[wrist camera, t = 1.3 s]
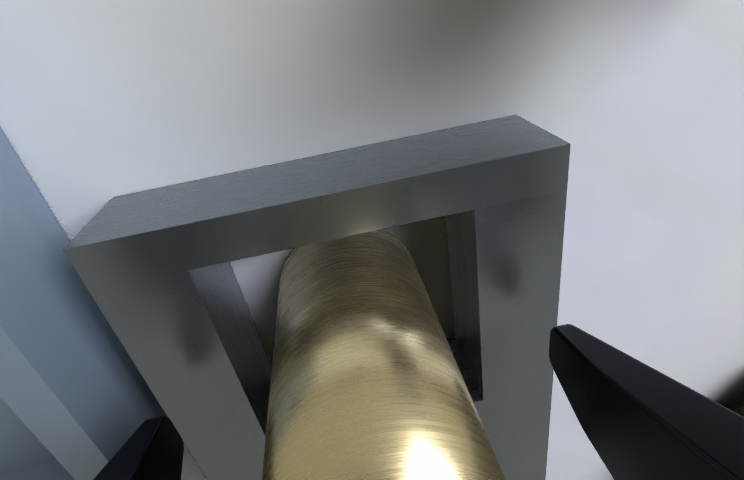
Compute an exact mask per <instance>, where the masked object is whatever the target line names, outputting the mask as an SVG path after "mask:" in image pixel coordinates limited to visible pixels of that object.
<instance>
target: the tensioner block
mask: <svg viewBox="0 0 744 480" xmlns="http://www.w3.org/2000/svg"><path fill="white" fill-rule="evenodd" d="M569 155H570V143H568V142H566V141H564V140H562V139H560V138H559V137H557V136H555V135H553V134H551V133H549V132H547V131H545V130H544V129H542V128H540V127H538V126H536V125H534V124H532V123H530V122H529V121H527V120H525V119H523V118H521V117H519V116H517V115H513V116H508V117H503V118H498V119H493V120H488V121H483V122H478V123H474V124H469V125H464V126H459V127H454V128H449V129H444V130H439V131H434V132H430V133H425V134H420V135H415V136H410V137H405V138H400V139H395V140H391V141H386V142H381V143H376V144H371V145H366V146H361V147H356V148H351V149H347V150H342V151H337V152H332V153H327V154H322V155H317V156H312V157H308V158H303V159H298V160H293V161H288V162H283V163H278V164H273V165H268V166H264V167H259V168H254V169H249V170H244V171H239V172H234V173H229V174H225V175H220V176H215V177H210V178H205V179H200V180H195V181H190V182H185V183H181V184H176V185H171V186H166V187H161V188H156V189H151V190H146V191H142V192H137V193H132V194H127V195H122V196H117V197H114V198H113V199H112V200H111V201H110V202H109V203H108V204H107V205H106V206H105V207H104V208H103V209H102V210H101V211H100V212H99V213H98V214H97V215H96V216H95V217H94V218H93V219H92V220H91V221H90V222H89V223H88V224H87V225H86V226H85V227H84V228H83V229H82V230H81V231H80V232H79V233H78V234H77V235H76V236H75V238H74V239H73V240H72V241H71V242H70V243H69V244H68V245H67V246H66V247H65V248H64V249H63V251H64V253H65V254H66V256H67V257H68V259H69V261H70V262H71V264H72V265H73V267H74V269H75V270H76V272H77V273H78V275H79V276H80V278H81V280H82V281H83V283H84V284H85V286H86V288H87V289H88V291H89V292H90V294H91V296H92V297H93V299H94V300H95V302H96V303H97V305H98V307H99V308H100V310H101V311H102V313H103V315H104V316H105V318H106V319H107V321H108V323H109V324H110V326H111V327H112V329H113V331H114V332H115V334H116V335H117V337H118V338H119V340H120V342H121V343H122V345H123V346H124V348H125V350H126V351H127V353H128V354H129V356H130V358H131V359H132V361H133V362H134V364H135V366H136V367H137V369H138V370H139V372H140V373H141V375H142V377H143V378H144V380H145V381H146V383H147V385H148V386H149V388H150V389H151V391H152V393H153V394H154V396H155V397H156V399H157V401H158V402H159V404H160V405H161V407H162V408H163V410H164V412H165V413H166V415H167V416H168V417H169V418H170V420H171V421H172V423H173V424H174V426H175V428H176V429H177V431H178V432H179V434H180V436H181V437H182V440H183V442H184V443H185V445H186V447H187V448H188V450H189V451H190V453H191V455H192V456H193V458H194V459H195V461H196V463H197V464H198V466H199V467H200V469H201V470H202V472H203V474H204V475H205V477H206V478H207V480H262V471H263V460H264V449H265V438H266V426H267V415H268V404H269V393H270V382H271V371H272V367H271V364H270V362H269V359H268V357H267V354H266V352H265V349H264V347H263V344H262V342H261V339H260V337H259V334H258V332H257V329H256V327H255V324H254V322H253V319H252V317H251V314H250V312H249V309H248V307H247V304H246V302H245V299H244V297H243V294H242V292H241V289H240V287H239V284H238V282H237V279H236V277H235V274H234V272H233V269H232V267H231V264H230V262H229V261H234V260H239V259H244V258H248V257H253V256H258V255H262V254H267V253H272V252H277V251H281V250H286V249H291V248H295V247H300V246H305V245H309V244H314V243H319V242H324V241H328V240H333V239H338V238H342V237H347V236H352V235H356V234H361V233H366V232H371V231H375V230H380V229H385V228H389V227H394V226H399V225H403V224H408V223H413V222H418V221H422V220H427V219H432V218H436V217H441V216H445V218H446V230H447V242H448V253H449V265H450V276H451V288H452V300H453V311H454V323H455V335H456V339H452V340H448V344H449V346H450V348H451V351H452V353H453V356H454V358H455V360H456V363H457V365H458V368H459V370H460V372H461V375H462V377H463V379H464V382H465V384H466V387H467V389H468V391H469V394H470V396H471V398H472V401H473V403H474V406H475V408H476V410H477V413H478V415H479V418H480V420H481V422H482V425H483V427H484V429H485V432H486V434H487V437H488V439H489V441H490V444H491V446H492V448H493V451H494V453H495V456H496V458H497V460H498V463H499V465H500V468H501V470H502V472H503V475H504V477H505V479H506V480H545V476H546V463H547V450H548V436H549V423H550V409H551V396H552V383H553V367H552V365H551V362H550V359H549V342H550V331H551V329H552V328H553V327H557V316H558V302H559V289H560V276H561V262H562V249H563V235H564V222H565V209H566V195H567V182H568V168H569Z"/></svg>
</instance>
